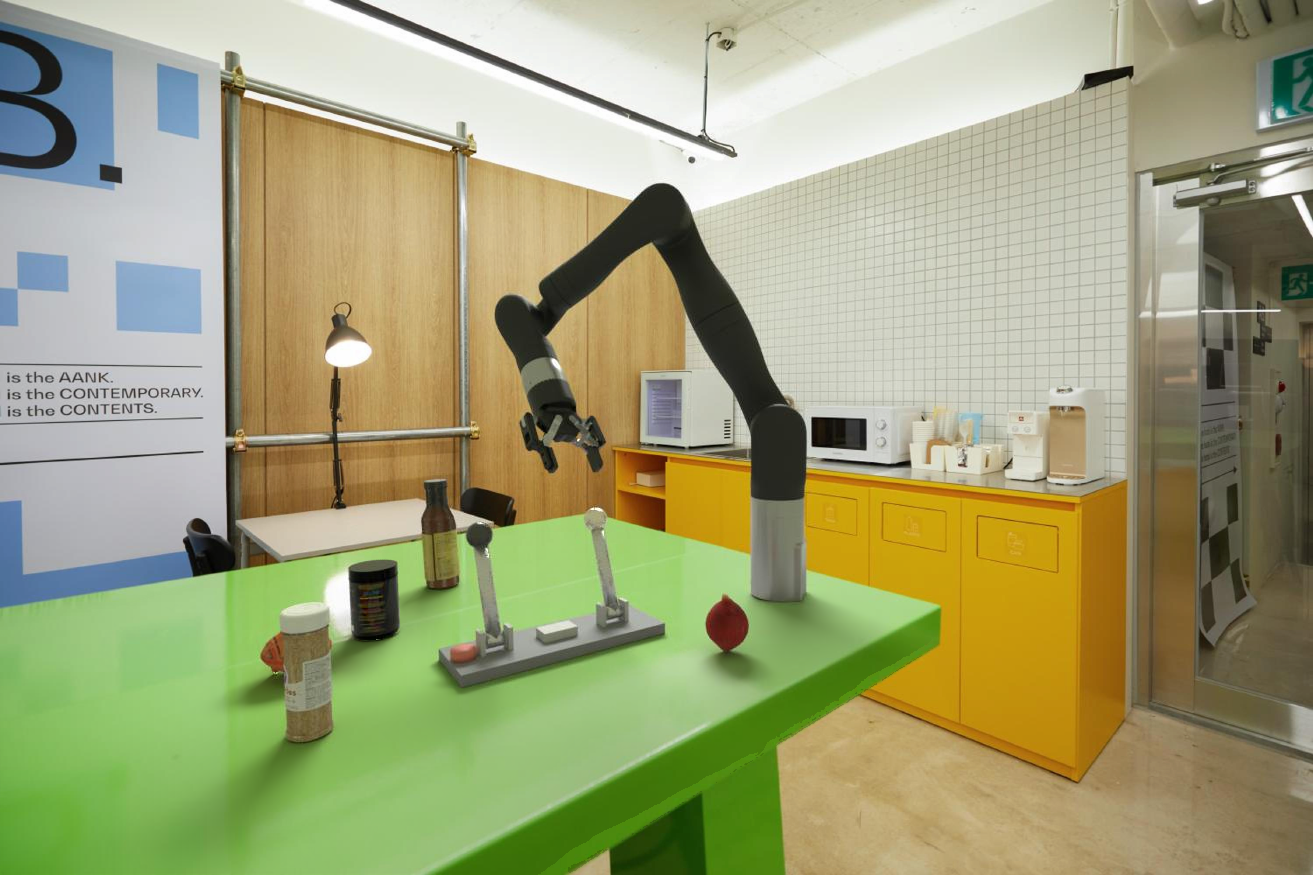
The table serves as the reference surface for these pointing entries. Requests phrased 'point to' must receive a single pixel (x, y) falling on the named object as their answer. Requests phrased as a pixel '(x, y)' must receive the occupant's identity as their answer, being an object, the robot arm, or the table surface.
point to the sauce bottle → (439, 538)
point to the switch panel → (546, 644)
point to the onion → (727, 624)
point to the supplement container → (374, 599)
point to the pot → (276, 653)
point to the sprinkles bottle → (307, 671)
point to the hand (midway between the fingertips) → (576, 470)
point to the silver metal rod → (486, 582)
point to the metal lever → (603, 561)
